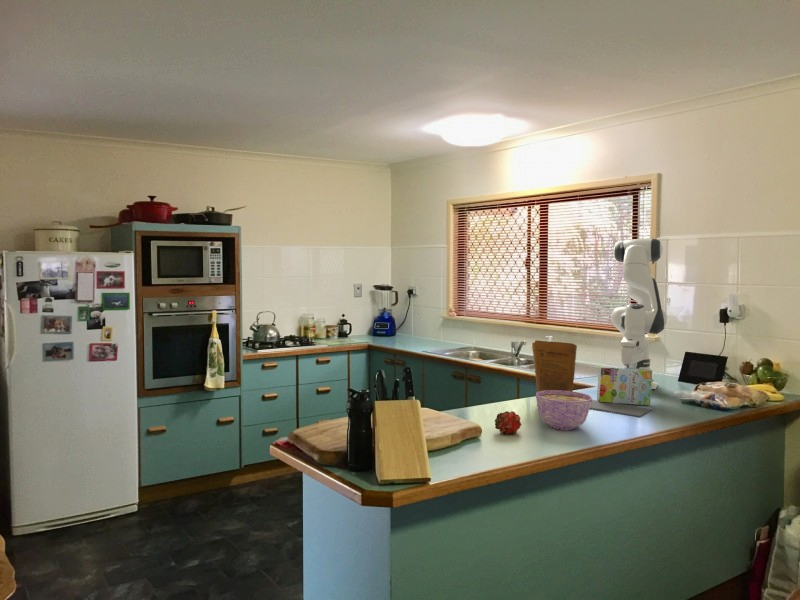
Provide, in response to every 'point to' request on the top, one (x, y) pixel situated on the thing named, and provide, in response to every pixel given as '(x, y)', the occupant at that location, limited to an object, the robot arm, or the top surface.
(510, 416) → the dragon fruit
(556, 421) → the bowl of food
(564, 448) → the top surface
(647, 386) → the snack box
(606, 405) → the charcoal rubber mat
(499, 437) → the top surface
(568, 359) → the pancake mix bag
